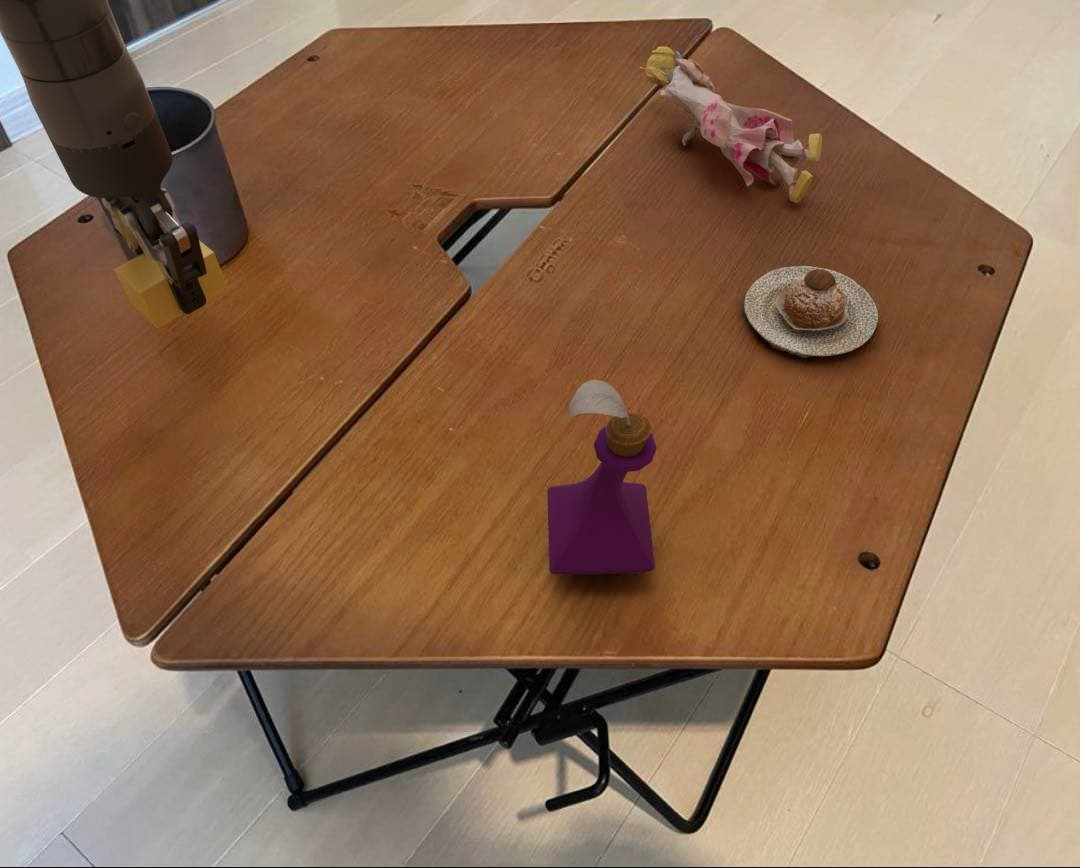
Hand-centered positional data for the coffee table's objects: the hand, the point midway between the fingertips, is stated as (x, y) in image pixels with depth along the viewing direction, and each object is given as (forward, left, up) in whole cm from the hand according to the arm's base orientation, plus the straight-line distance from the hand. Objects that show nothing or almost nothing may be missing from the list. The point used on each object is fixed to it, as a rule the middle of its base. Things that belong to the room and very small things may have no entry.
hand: (179, 293), depth 78 cm
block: (0, 0, 0) cm, 0 cm away
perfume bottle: (+9, -41, -7) cm, 43 cm away
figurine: (+55, -16, -7) cm, 58 cm away
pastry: (+41, -38, -7) cm, 56 cm away
